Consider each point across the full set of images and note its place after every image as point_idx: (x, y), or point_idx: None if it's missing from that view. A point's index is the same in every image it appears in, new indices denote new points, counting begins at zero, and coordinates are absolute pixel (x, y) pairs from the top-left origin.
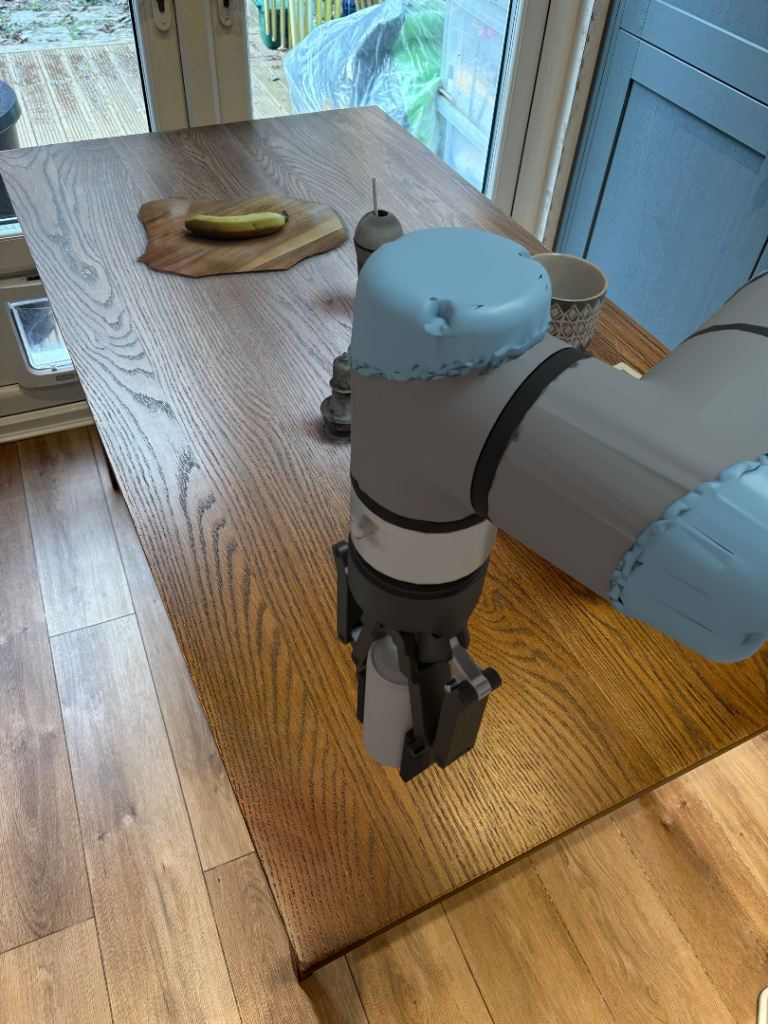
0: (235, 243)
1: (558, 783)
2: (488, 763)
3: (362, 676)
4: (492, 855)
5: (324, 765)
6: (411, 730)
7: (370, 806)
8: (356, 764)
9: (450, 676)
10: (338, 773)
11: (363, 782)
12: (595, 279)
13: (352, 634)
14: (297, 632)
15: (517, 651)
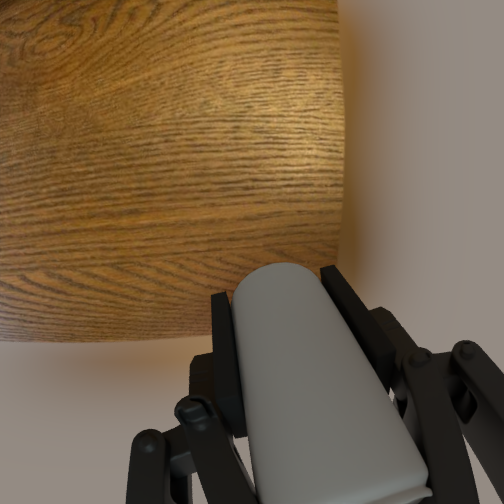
0: None
1: (307, 54)
2: (257, 108)
3: (246, 436)
4: (339, 154)
5: (195, 271)
6: None
7: (250, 244)
8: (204, 243)
9: (475, 488)
10: (207, 262)
11: (225, 242)
12: None
13: (182, 476)
14: (50, 255)
15: (141, 17)
